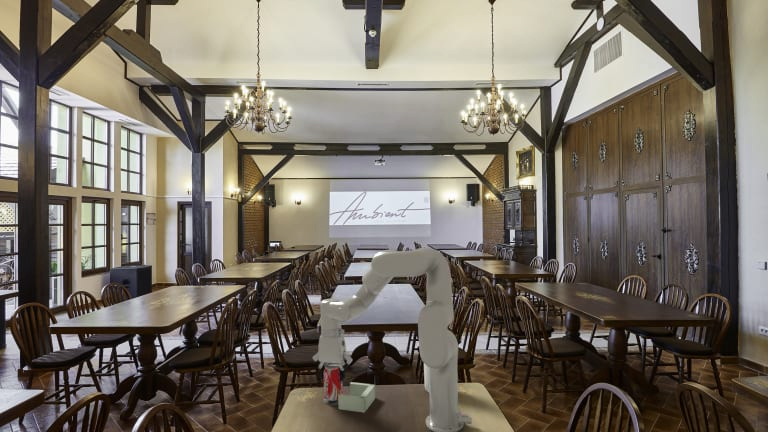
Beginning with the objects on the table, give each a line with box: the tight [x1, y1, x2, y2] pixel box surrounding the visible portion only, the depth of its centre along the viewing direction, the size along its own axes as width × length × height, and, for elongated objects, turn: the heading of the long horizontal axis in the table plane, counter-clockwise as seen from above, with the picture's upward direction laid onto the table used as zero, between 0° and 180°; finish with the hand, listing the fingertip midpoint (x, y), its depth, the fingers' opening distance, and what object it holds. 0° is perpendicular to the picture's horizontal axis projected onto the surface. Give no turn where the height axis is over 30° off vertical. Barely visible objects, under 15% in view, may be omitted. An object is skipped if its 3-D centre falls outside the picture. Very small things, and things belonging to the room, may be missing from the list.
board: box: [322, 397, 339, 406], centre depth 154 cm, size 16×12×2 cm
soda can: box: [323, 363, 344, 401], centre depth 155 cm, size 7×7×12 cm
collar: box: [338, 381, 377, 413], centre depth 152 cm, size 10×12×5 cm
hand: (332, 378), depth 155 cm, fingers open, 7 cm apart
